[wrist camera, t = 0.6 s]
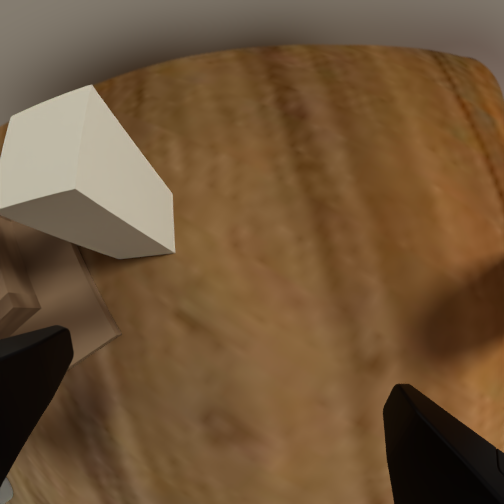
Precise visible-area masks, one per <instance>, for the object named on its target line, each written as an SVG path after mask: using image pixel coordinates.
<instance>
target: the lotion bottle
mask: <svg viewBox="0 0 504 504" xmlns="http://www.w3.org/2000/svg"><path fill="white" fill-rule="evenodd" d="M12 497H13V490H12V487H11V485H10V483H9V481H8V479H7V478H5V480H4V482H3V484H2V485H1V487H0V504H5V503H6V502H7V501H9V500H10V499H11V498H12Z"/></svg>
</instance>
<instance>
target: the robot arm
mask: <svg viewBox="0 0 504 504" xmlns="http://www.w3.org/2000/svg"><path fill="white" fill-rule="evenodd" d="M73 357H74V350H73V344H72V339H71V333H70V331H69V329H68V328H66V327H63V326H60V325H53V326H50V327H46V328H42V329H38V330H34V331H31V332H27V333H23V334H19V335H15V336H11V337H8V338H4V339H0V487H1V485H2V484H3V482H4V480H5V478H6V476H7V474H8V472H9V471H10V469H11V467H12V465H13V463H14V461H15V460H16V458H17V456H18V454H19V453H20V451H21V449H22V447H23V446H24V444H25V442H26V441H27V439H28V437H29V436H30V434H31V432H32V431H33V429H34V427H35V426H36V424H37V422H38V421H39V419H40V418H41V416H42V414H43V413H44V411H45V410H46V408H47V407H48V405H49V403H50V402H51V400H52V398H53V397H54V395H55V393H56V391H57V389H58V387H59V385H60V383H61V381H62V379H63V377H64V375H65V373H66V371H67V370H68V368H69V366H70V364H71V362H72V360H73ZM383 420H384V431H385V443H386V455H387V463H388V469H389V474H390V480H391V486H392V492H393V498H394V504H504V453H503V452H502V451H500V450H499V449H496V447H495V446H493V445H492V444H491V443H489V442H488V441H486V440H485V439H484V438H482V437H481V436H480V435H478V434H477V433H475V432H474V431H473V430H471V429H470V428H469V427H467V426H466V425H464V424H463V423H462V422H460V421H459V420H458V419H456V418H455V417H453V416H452V415H451V414H449V413H448V412H447V411H445V410H444V409H443V408H441V407H440V406H439V405H437V404H436V403H434V402H433V401H432V400H430V399H429V398H428V397H426V396H425V395H424V394H422V393H421V392H420V391H418V390H417V389H416V388H414V387H413V386H412V385H410V384H396V385H395V386H394V387H393V389H392V391H391V393H390V395H389V397H388V399H387V401H386V403H385V405H384V408H383Z"/></svg>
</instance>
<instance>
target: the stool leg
mask: <svg viewBox="0 0 504 504" xmlns="http://www.w3.org/2000/svg"><path fill="white" fill-rule="evenodd" d="M0 215H1V216H4V217H6V218H8V219H11V220H14V221H16V222H19V223H21V224H24V225H26V226H29V227H31V228H34V229H37V230H39V231H42V232H44V233H47V234H50V235H52V236H55V237H58V238H60V239H63V240H66V241H69V242H71V243H74V244H77V245H80V246H82V247H85V248H88V249H91V250H94V251H97V252H99V253H102V254H105V255H108V256H111V257H114V258H117V259H126V258H135V257H144V256H153V255H162V254H171V253H175V241H174V220H173V194H172V193H171V191H170V190H169V189H168V187H167V186H166V185H165V183H164V182H163V181H162V179H161V178H160V177H159V175H158V174H157V173H156V171H155V170H154V169H153V167H152V166H151V165H150V164H149V162H148V161H147V160H146V158H145V157H144V156H143V154H142V153H141V151H140V150H139V149H138V147H137V146H136V145H135V143H134V142H133V141H132V139H131V138H130V137H129V135H128V134H127V133H126V131H125V130H124V129H123V127H122V126H121V124H120V123H119V122H118V120H117V119H116V118H115V116H114V115H113V114H112V112H111V111H110V109H109V108H108V107H107V105H106V104H105V103H104V101H103V100H102V98H101V97H100V96H99V94H98V93H97V91H96V90H95V89H94V87H93V86H92V85H89V86H86V87H83V88H80V89H77V90H74V91H71V92H68V93H66V94H63V95H60V96H58V97H55V98H53V99H50V100H47V101H45V102H43V103H40V104H38V105H36V106H33V107H31V108H29V109H27V110H24V111H22V112H20V113H18V114H16V115H14V116H12V117H11V119H10V122H9V126H8V129H7V133H6V137H5V141H4V145H3V149H2V153H1V158H0Z"/></svg>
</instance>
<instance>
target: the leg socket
mask: <svg viewBox="0 0 504 504" xmlns="http://www.w3.org/2000/svg"><path fill="white" fill-rule="evenodd" d="M53 325H60V326H63V327H66V328H68V329H69V331H70V333H71V339H72V344H73V350H74V357H73V360H72V362H71V364H70V366H69V368H68V370H69V369H71V368H72V367H74V366H75V365H77V364H78V363H80V362H81V361H83V360H84V359H86V358H87V357H89V356H90V355H92V354H93V353H95V352H96V351H98V350H99V349H101V348H102V347H104V346H105V345H106V344H108V343H109V342H111V341H112V340H114V339H115V338H117V337H118V336H120V335H121V334H122V333H121V331H120V330H119V328H118V326H117V324H116V323H115V321H114V319H113V317H112V316H111V314H110V312H109V310H108V308H107V306H106V304H105V303H104V301H103V299H102V297H101V295H100V293H99V291H98V289H97V287H96V285H95V283H94V281H93V279H92V277H91V275H90V273H89V271H88V269H87V267H86V264H85V262H84V260H83V258H82V256H81V254H80V251H79V249H78V247H77V245H76V244H74V243H71V242H69V241H66V240H63V239H60V238H58V237H55V236H52V235H50V234H47V233H44V232H42V231H39V230H37V229H34V228H31V227H29V226H26V225H24V224H21V223H19V222H16V221H14V220H11V219H8V218H6V217H4V216H1V215H0V339H4V338H8V337H11V336H15V335H19V334H23V333H27V332H31V331H34V330H38V329H42V328H46V327H50V326H53ZM68 370H67V371H68Z"/></svg>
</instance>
